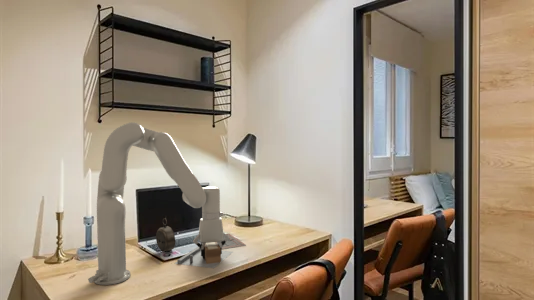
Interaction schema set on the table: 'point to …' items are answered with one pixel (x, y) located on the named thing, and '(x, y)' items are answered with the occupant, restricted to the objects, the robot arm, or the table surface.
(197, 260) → the wall board
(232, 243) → the picture frame
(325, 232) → the table surface
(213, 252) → the brown cardboard box
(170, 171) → the robot arm
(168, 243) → the alarm clock
